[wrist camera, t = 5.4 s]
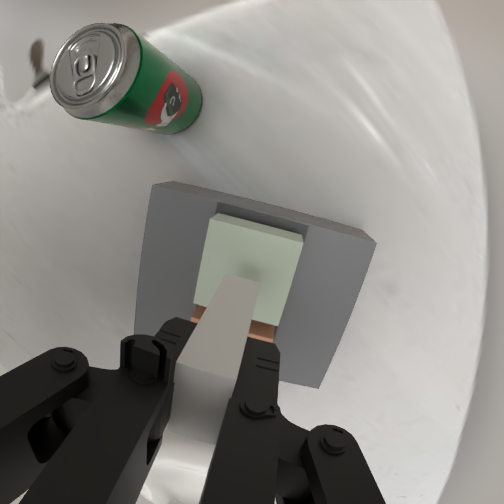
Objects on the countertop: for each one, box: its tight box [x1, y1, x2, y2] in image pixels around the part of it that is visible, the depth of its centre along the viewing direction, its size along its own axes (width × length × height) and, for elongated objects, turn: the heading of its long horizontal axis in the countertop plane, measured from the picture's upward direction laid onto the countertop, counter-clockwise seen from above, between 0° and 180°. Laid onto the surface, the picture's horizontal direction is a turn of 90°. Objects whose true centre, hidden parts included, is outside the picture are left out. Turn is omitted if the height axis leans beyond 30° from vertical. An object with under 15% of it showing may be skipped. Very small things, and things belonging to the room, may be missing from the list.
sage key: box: [193, 213, 303, 326], centre depth 18 cm, size 5×5×2 cm
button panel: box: [134, 181, 377, 389], centre depth 23 cm, size 15×12×4 cm
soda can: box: [50, 23, 202, 134], centre depth 16 cm, size 5×5×12 cm
